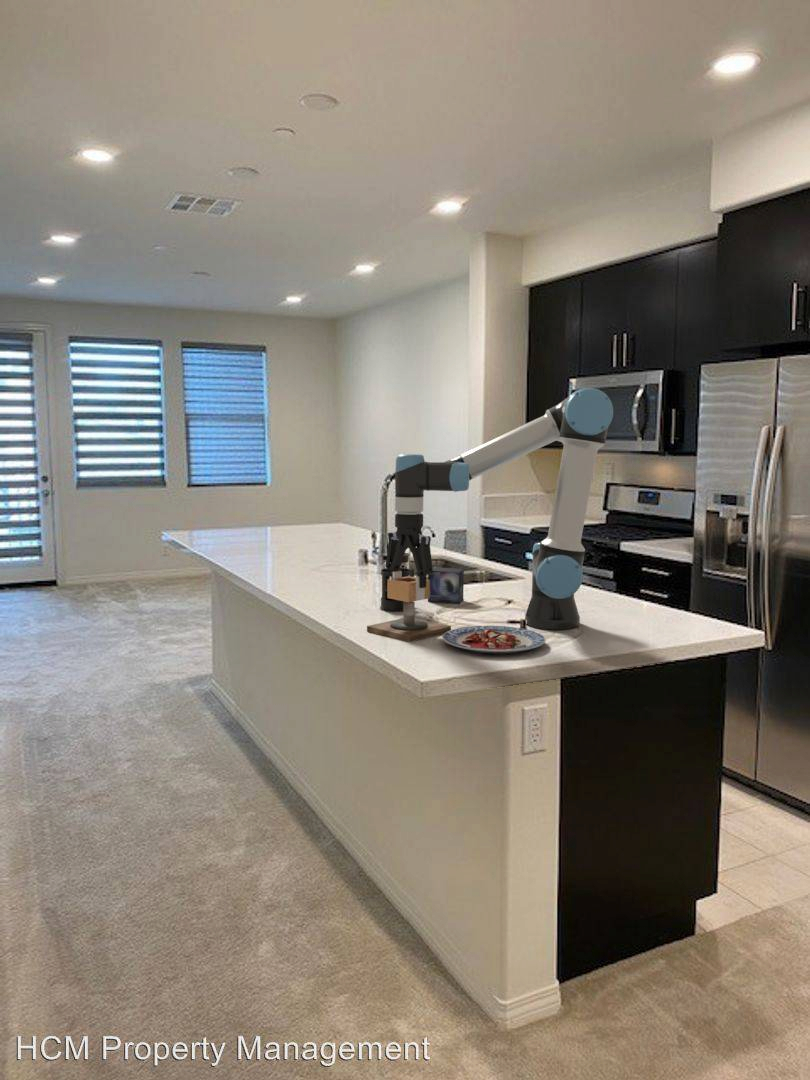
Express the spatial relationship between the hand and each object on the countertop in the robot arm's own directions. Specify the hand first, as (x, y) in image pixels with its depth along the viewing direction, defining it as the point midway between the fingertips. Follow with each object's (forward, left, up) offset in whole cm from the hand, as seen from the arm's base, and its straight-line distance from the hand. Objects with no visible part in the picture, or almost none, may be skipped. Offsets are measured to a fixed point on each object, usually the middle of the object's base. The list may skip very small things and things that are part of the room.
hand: (408, 597), depth 216 cm
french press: (+24, -19, -10) cm, 32 cm away
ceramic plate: (-25, -5, -10) cm, 27 cm away
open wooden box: (0, 0, 0) cm, 0 cm away
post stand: (0, 0, -9) cm, 9 cm away
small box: (+21, -38, -10) cm, 45 cm away
